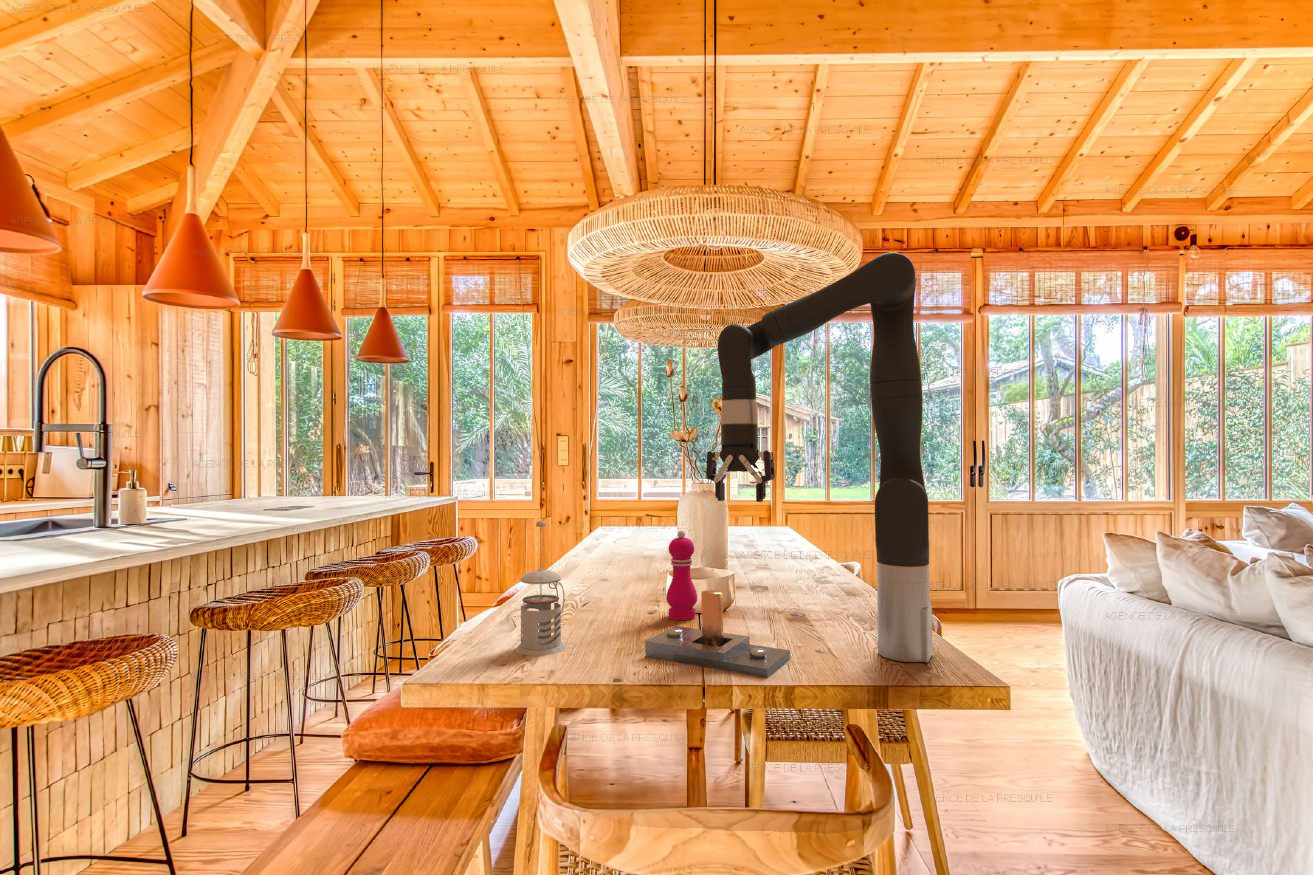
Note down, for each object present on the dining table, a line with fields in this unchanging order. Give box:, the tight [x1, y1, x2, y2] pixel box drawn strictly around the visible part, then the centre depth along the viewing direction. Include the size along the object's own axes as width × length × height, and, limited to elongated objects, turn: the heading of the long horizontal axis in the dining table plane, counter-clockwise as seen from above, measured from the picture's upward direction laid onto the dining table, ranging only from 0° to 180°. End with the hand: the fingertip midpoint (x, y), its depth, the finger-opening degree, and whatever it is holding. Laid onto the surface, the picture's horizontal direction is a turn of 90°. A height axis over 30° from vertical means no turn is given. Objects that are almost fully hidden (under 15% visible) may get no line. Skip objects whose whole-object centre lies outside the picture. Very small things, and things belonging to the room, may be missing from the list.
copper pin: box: [700, 589, 724, 647], centre depth 124 cm, size 4×4×12 cm
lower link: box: [673, 644, 791, 679], centre depth 121 cm, size 18×12×2 cm, turn 60°
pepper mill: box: [665, 530, 698, 621], centre depth 154 cm, size 7×7×20 cm
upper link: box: [644, 625, 751, 663], centre depth 125 cm, size 16×12×4 cm
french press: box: [515, 520, 567, 657], centre depth 131 cm, size 10×12×25 cm
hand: (740, 501), depth 136 cm, fingers open, 8 cm apart
